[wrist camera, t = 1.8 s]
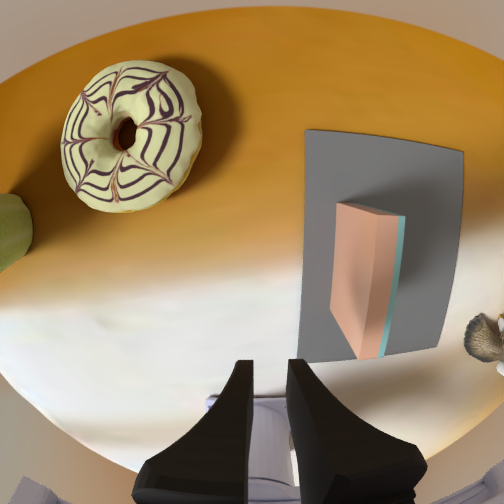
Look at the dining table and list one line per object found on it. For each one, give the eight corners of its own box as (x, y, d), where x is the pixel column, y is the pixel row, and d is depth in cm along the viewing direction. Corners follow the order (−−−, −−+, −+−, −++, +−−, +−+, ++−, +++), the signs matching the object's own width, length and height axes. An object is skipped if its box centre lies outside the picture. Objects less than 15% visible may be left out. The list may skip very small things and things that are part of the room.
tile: (349, 308, 22) (383, 357, 15) (329, 309, 22) (358, 360, 15) (357, 203, 20) (405, 216, 13) (336, 202, 20) (377, 214, 13)
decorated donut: (207, 63, 18) (198, 41, 14) (209, 205, 20) (199, 210, 17) (83, 86, 18) (58, 74, 14) (82, 213, 20) (56, 220, 17)
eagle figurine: (528, 302, 21) (506, 288, 19) (546, 354, 17) (530, 355, 14) (484, 334, 27) (452, 329, 24) (497, 384, 22) (467, 391, 20)
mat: (434, 345, 23) (436, 346, 23) (296, 360, 23) (297, 363, 23) (460, 152, 19) (463, 152, 18) (304, 130, 19) (305, 129, 18)
